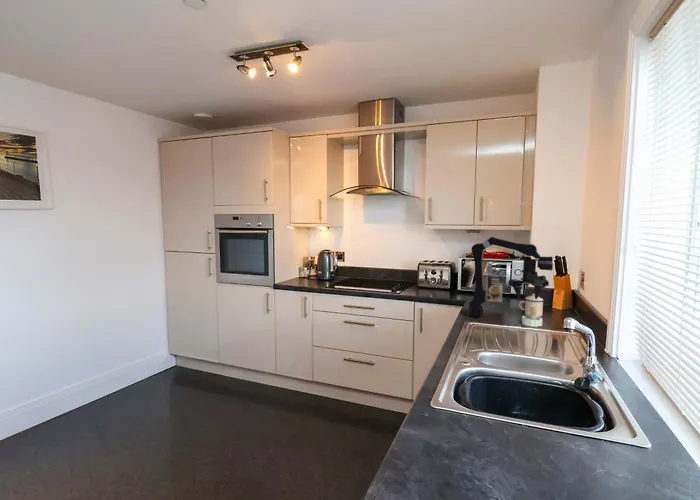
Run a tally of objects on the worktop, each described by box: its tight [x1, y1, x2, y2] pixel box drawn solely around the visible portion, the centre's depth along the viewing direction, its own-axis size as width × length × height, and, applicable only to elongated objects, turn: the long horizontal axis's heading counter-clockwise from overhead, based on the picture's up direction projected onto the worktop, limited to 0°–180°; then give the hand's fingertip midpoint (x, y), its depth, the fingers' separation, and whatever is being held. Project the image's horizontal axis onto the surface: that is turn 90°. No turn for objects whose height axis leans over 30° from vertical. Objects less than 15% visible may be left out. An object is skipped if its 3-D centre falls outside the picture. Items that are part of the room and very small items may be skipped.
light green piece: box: [521, 315, 543, 328], centre depth 188 cm, size 9×9×3 cm
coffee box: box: [485, 274, 504, 303], centre depth 239 cm, size 9×6×16 cm
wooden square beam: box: [528, 306, 536, 320], centre depth 188 cm, size 2×2×8 cm
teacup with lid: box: [518, 293, 544, 318], centre depth 206 cm, size 12×9×12 cm
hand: (527, 299), depth 190 cm, fingers open, 9 cm apart
